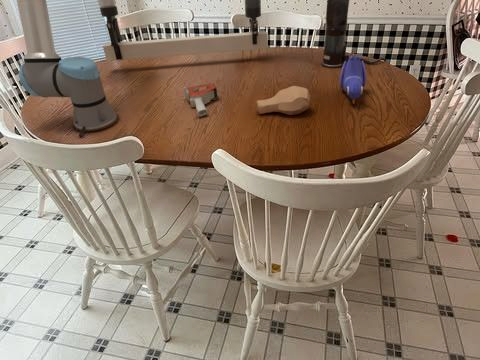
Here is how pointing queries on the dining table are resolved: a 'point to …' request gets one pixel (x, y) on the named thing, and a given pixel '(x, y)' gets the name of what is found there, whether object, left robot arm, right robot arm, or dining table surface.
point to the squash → (286, 101)
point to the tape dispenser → (201, 97)
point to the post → (186, 46)
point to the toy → (353, 77)
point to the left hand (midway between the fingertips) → (120, 57)
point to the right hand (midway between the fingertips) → (254, 42)
